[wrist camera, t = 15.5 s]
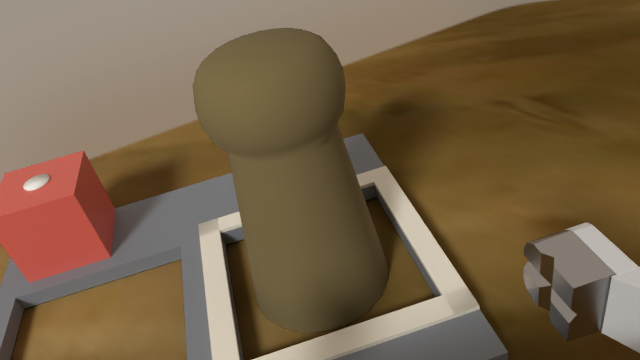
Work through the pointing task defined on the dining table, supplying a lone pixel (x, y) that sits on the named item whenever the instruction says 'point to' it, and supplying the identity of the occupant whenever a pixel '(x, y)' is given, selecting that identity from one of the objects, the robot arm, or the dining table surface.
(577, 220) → the dining table surface
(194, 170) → the dining table surface
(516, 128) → the dining table surface
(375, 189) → the grey and white frame
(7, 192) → the red cube
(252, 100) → the cork
